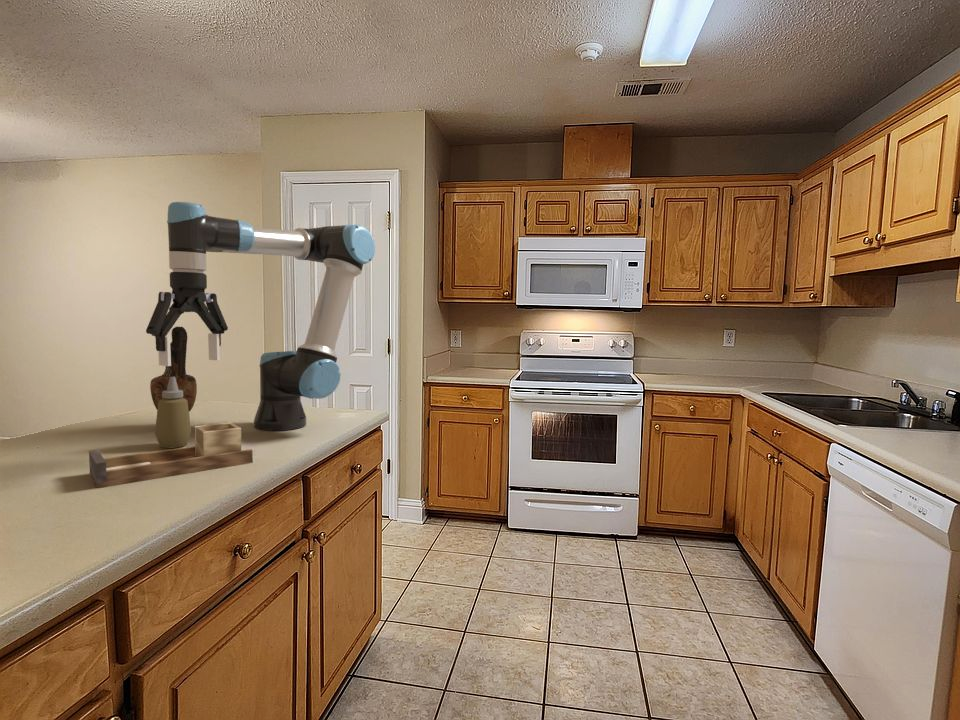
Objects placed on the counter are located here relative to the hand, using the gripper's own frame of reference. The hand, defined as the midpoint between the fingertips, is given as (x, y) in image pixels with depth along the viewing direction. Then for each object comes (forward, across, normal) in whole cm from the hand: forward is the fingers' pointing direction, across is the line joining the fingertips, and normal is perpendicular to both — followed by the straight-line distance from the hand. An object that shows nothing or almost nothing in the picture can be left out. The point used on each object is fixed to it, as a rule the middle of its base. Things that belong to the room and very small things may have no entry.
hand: (190, 362), depth 123 cm
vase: (+23, -20, -29) cm, 42 cm away
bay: (+23, +8, +3) cm, 24 cm away
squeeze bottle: (+23, -5, -13) cm, 27 cm away
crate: (+22, 0, +7) cm, 23 cm away
